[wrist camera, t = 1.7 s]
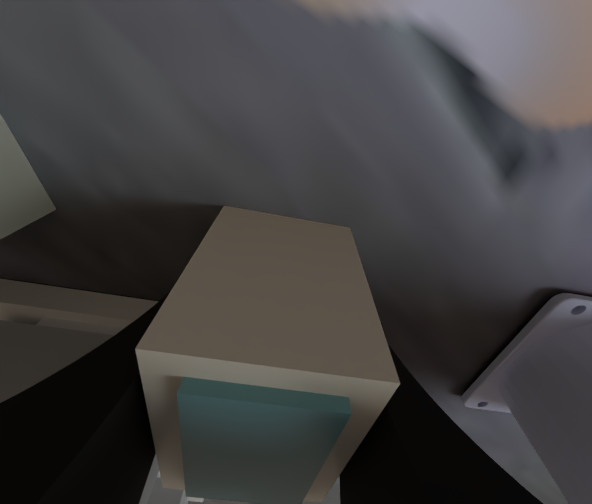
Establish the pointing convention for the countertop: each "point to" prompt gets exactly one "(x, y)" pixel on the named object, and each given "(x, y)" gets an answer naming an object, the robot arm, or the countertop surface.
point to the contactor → (18, 187)
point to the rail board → (68, 306)
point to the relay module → (265, 362)
